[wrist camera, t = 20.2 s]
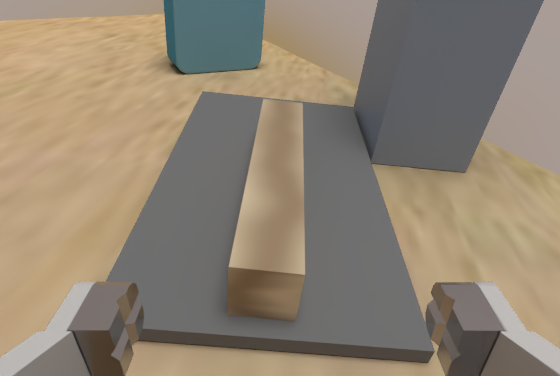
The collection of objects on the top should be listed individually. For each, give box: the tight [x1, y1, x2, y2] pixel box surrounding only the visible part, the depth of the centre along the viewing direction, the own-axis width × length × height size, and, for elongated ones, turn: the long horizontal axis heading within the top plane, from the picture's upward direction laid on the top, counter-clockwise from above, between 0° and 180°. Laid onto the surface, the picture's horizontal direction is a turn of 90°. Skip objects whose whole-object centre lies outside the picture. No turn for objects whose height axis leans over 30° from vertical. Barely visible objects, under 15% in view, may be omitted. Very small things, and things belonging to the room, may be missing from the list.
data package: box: [164, 0, 265, 74], centre depth 50 cm, size 12×4×12 cm, turn 119°
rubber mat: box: [106, 92, 435, 363], centre depth 31 cm, size 17×30×1 cm, turn 179°
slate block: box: [353, 0, 544, 172], centre depth 33 cm, size 9×12×26 cm
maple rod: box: [227, 99, 305, 322], centre depth 26 cm, size 4×20×4 cm, turn 177°
